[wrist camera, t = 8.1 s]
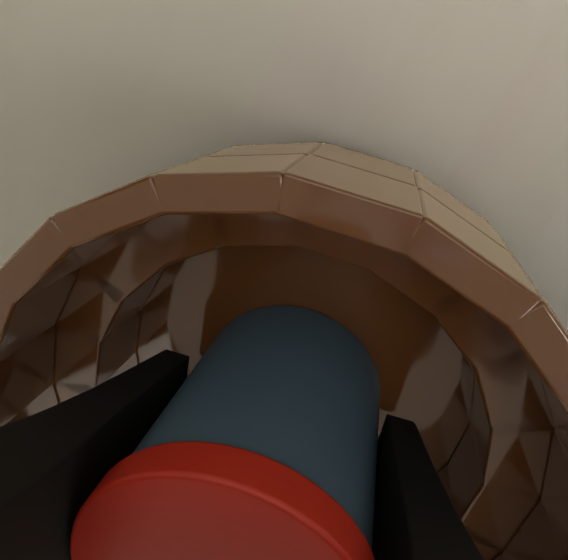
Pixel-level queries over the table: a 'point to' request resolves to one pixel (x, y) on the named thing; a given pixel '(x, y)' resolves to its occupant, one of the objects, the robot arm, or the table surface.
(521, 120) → the table surface
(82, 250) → the bowl
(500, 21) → the table surface
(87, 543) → the container
